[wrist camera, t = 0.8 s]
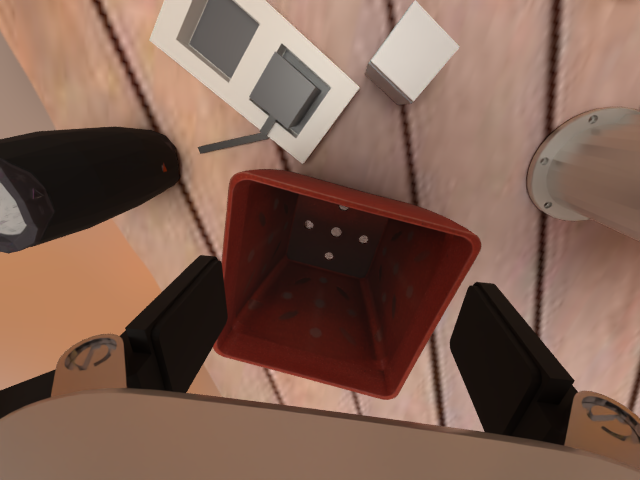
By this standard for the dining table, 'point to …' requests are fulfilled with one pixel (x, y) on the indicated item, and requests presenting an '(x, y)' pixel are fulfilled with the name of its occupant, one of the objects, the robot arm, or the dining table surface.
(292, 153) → the power strip
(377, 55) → the plug
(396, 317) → the plant pot
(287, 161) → the dining table surface
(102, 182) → the portable speaker
